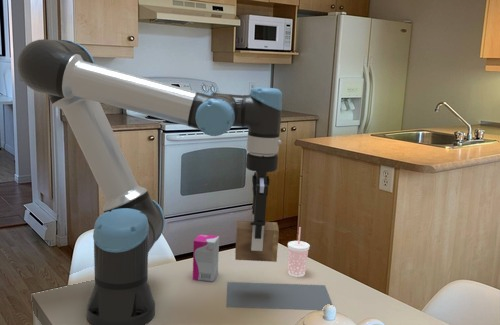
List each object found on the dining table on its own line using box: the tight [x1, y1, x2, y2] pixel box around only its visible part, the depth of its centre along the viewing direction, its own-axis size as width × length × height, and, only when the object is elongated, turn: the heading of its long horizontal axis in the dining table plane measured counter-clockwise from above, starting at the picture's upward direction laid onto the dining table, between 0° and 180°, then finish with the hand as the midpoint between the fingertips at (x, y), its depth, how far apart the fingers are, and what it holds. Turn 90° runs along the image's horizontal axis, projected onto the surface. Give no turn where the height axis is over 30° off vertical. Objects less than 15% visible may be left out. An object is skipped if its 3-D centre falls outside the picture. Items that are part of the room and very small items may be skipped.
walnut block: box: [234, 220, 280, 263], centre depth 128 cm, size 10×6×8 cm, turn 92°
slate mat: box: [226, 281, 333, 311], centre depth 131 cm, size 26×14×1 cm, turn 92°
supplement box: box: [192, 233, 220, 283], centre depth 139 cm, size 6×6×12 cm
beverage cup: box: [287, 226, 311, 278], centre depth 144 cm, size 6×6×14 cm
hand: (256, 244), depth 128 cm, fingers closed on walnut block, 6 cm apart
